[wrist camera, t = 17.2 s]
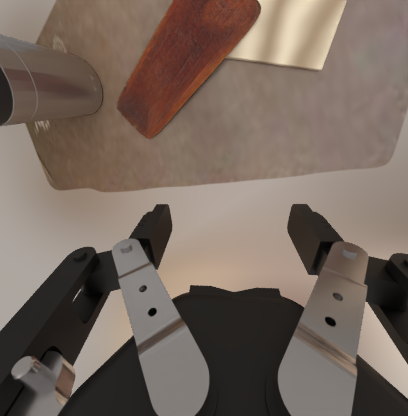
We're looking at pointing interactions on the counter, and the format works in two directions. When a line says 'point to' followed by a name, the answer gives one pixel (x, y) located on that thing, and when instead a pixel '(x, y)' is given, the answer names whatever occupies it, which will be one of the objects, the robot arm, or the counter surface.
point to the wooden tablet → (183, 58)
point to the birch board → (291, 33)
